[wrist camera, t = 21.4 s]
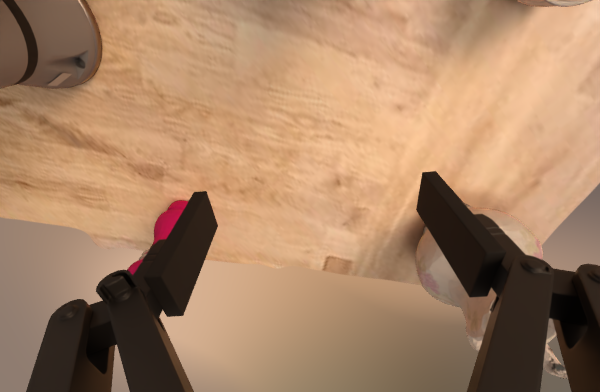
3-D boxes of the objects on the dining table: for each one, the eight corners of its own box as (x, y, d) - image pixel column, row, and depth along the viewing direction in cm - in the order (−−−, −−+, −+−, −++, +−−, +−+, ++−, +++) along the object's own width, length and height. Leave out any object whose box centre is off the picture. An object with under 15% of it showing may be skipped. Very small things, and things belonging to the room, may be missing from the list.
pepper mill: (164, 221, 54) (103, 312, 38) (169, 192, 51) (104, 279, 34) (200, 231, 56) (158, 324, 39) (208, 204, 52) (165, 293, 35)
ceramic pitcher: (523, 222, 56) (672, 335, 34) (450, 281, 64) (535, 405, 42) (452, 170, 50) (580, 269, 28) (380, 242, 57) (438, 365, 36)
